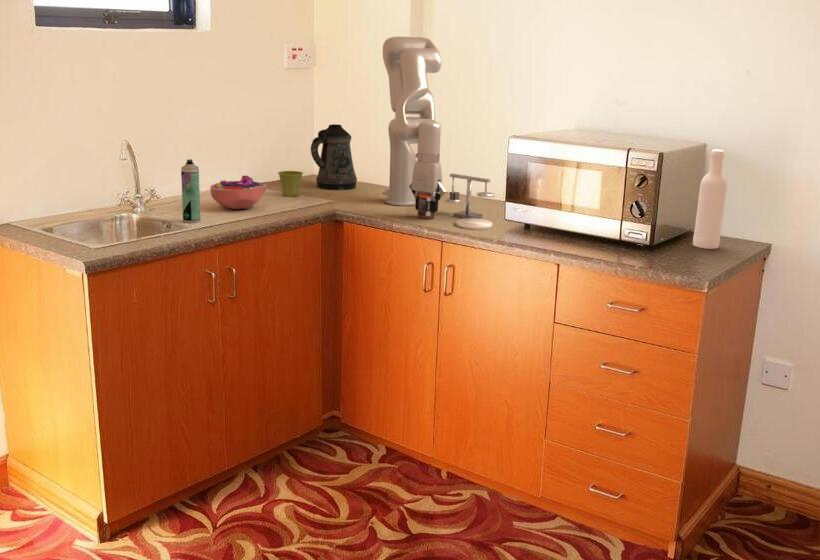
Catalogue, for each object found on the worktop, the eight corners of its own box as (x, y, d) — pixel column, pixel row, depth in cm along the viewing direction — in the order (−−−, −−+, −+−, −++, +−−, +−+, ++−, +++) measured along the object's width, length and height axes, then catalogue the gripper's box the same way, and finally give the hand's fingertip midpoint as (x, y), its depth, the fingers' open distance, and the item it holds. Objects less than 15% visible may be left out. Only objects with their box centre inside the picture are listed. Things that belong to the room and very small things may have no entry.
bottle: (688, 242, 274) (700, 148, 266) (712, 243, 274) (725, 148, 266) (698, 249, 266) (710, 151, 258) (723, 249, 267) (736, 152, 259)
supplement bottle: (433, 219, 295) (434, 187, 292) (416, 218, 296) (417, 185, 293) (436, 216, 300) (437, 184, 297) (419, 215, 301) (420, 183, 298)
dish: (449, 225, 287) (449, 221, 287) (470, 220, 296) (470, 216, 296) (478, 231, 280) (478, 227, 280) (499, 225, 289) (499, 222, 288)
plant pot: (301, 198, 326) (301, 175, 323) (276, 197, 326) (276, 174, 323) (304, 193, 335) (304, 171, 332) (280, 192, 335) (280, 170, 332)
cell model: (201, 207, 302) (200, 175, 299) (250, 201, 315) (250, 171, 312) (225, 215, 290) (224, 182, 287) (276, 209, 303) (275, 177, 300)
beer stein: (363, 185, 356) (364, 124, 349) (343, 192, 339) (344, 128, 332) (327, 182, 362) (327, 121, 355) (305, 189, 344) (305, 125, 337)
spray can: (194, 218, 284) (192, 158, 278) (203, 221, 280) (201, 160, 274) (179, 220, 280) (177, 159, 274) (188, 223, 276) (186, 161, 271)
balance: (439, 213, 305) (441, 173, 302) (450, 211, 310) (451, 172, 306) (486, 222, 293) (488, 181, 289) (496, 220, 298) (498, 179, 294)
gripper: (401, 156, 295) (400, 208, 300) (441, 162, 284) (439, 216, 289) (415, 154, 301) (414, 205, 305) (455, 160, 290) (452, 213, 295)
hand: (426, 210), depth 297 cm, fingers closed on supplement bottle, 6 cm apart
